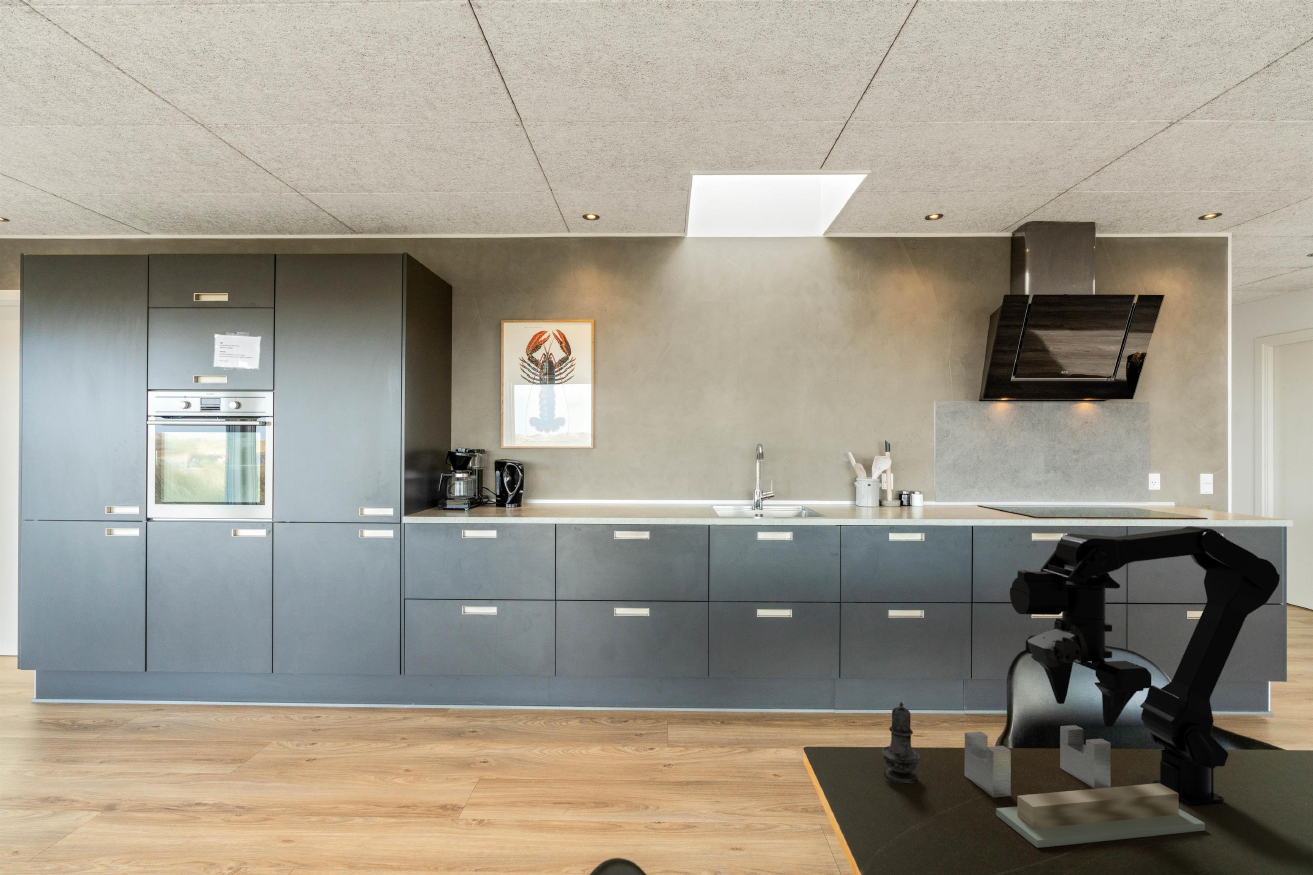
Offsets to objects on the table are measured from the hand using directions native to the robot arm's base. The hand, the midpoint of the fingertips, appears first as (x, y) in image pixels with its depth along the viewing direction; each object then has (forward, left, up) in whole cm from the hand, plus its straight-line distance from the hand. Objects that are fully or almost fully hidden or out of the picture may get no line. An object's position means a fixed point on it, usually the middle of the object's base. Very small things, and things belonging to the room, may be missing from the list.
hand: (1083, 714), depth 103 cm
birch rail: (+5, +8, -11) cm, 14 cm away
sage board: (+5, +8, -12) cm, 15 cm away
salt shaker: (+26, -9, -12) cm, 30 cm away
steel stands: (+5, -4, -12) cm, 14 cm away
